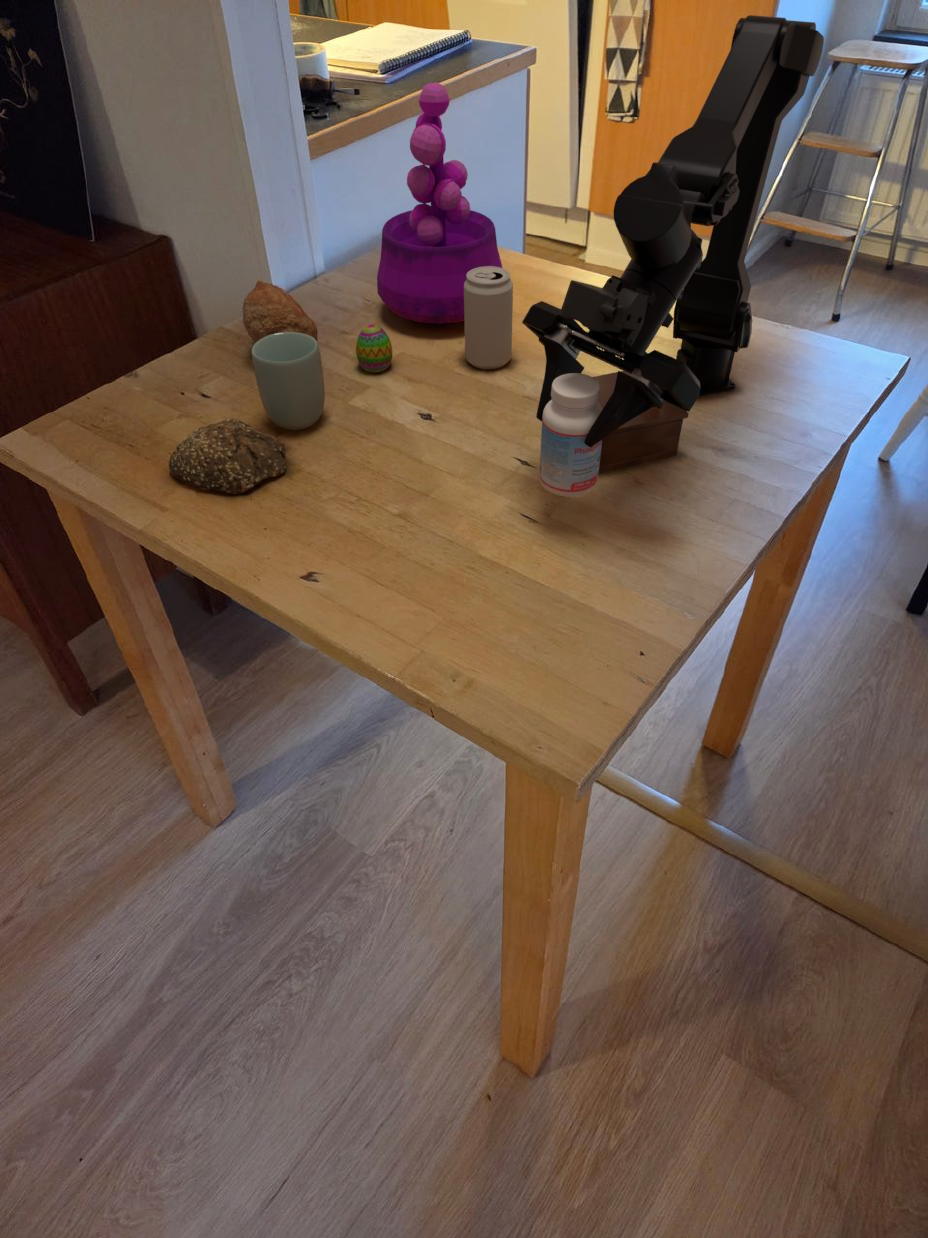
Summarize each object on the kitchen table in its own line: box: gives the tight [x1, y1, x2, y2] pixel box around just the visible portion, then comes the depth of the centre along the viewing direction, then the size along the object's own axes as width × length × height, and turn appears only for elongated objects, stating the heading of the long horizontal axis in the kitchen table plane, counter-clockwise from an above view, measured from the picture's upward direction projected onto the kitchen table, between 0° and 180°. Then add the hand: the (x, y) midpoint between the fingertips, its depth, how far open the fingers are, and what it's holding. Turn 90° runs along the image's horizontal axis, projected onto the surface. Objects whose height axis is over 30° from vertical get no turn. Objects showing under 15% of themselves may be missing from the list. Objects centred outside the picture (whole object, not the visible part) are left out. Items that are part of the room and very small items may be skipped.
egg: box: [355, 323, 393, 374], centre depth 114 cm, size 5×5×6 cm
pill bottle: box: [538, 373, 603, 498], centre depth 84 cm, size 6×6×11 cm
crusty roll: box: [242, 279, 318, 344], centre depth 115 cm, size 10×13×10 cm
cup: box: [250, 332, 326, 431], centre depth 103 cm, size 8×8×10 cm
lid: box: [592, 370, 690, 435], centre depth 98 cm, size 11×12×4 cm
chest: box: [598, 419, 684, 474], centre depth 101 cm, size 11×12×5 cm
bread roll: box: [168, 417, 287, 495], centre depth 98 cm, size 13×12×5 cm
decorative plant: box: [376, 82, 503, 325], centre depth 118 cm, size 19×18×30 cm
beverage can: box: [463, 266, 514, 370], centre depth 113 cm, size 6×6×12 cm
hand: (562, 432), depth 83 cm, fingers closed on pill bottle, 6 cm apart
